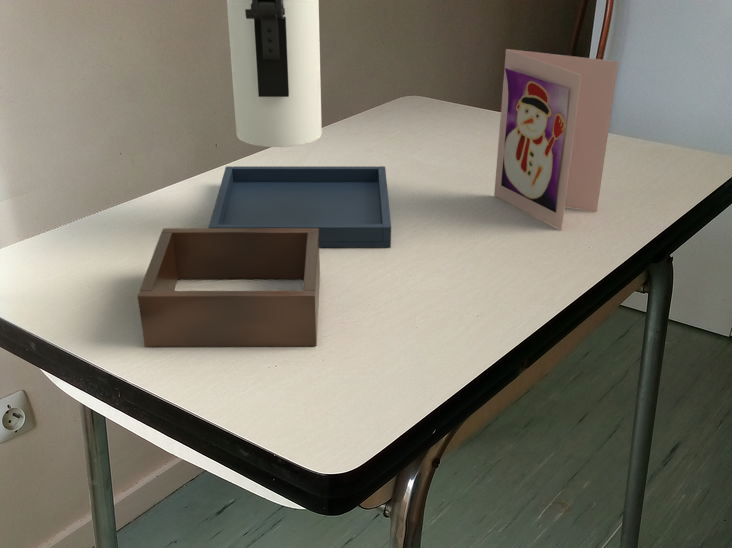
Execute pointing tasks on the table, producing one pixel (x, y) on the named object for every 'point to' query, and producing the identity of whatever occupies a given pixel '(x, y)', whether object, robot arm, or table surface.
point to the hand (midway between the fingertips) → (276, 82)
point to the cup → (303, 106)
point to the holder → (231, 308)
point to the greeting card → (553, 132)
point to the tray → (308, 202)
